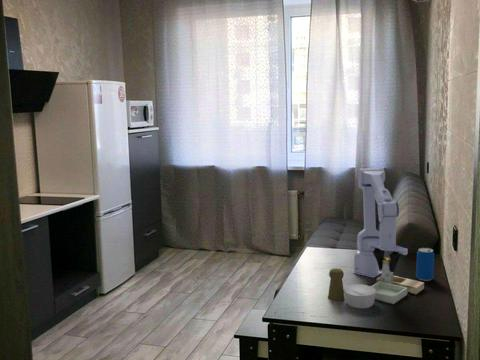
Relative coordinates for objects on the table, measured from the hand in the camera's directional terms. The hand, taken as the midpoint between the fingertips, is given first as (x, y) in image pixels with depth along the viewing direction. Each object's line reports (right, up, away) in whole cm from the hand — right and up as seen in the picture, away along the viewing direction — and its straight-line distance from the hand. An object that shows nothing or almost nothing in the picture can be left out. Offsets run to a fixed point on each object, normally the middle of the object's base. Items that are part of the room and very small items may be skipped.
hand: (386, 270), depth 188 cm
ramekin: (-11, -11, -5) cm, 17 cm away
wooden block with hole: (+8, -8, +10) cm, 15 cm away
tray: (0, -10, +2) cm, 10 cm away
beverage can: (+20, -7, +18) cm, 28 cm away
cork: (-18, -11, 0) cm, 21 cm away
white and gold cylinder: (0, -4, +1) cm, 5 cm away
